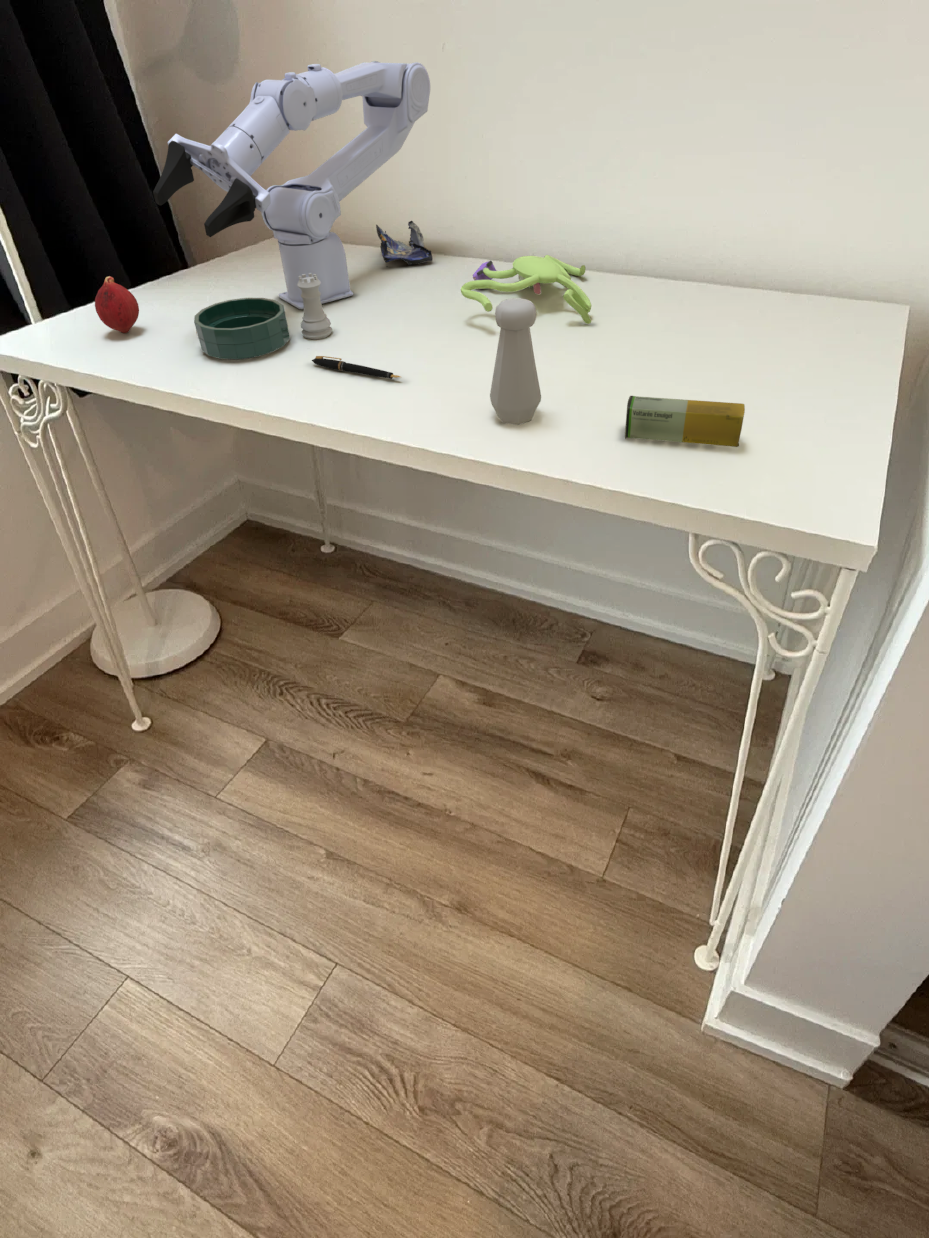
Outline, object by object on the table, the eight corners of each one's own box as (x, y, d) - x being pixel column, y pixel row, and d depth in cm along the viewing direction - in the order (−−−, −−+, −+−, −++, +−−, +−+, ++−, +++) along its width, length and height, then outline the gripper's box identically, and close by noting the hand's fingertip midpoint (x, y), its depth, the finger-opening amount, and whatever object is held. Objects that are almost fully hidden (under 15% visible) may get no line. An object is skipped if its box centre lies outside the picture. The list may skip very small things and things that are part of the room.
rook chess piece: (338, 329, 113) (329, 272, 108) (324, 341, 110) (314, 282, 105) (310, 327, 115) (300, 270, 109) (296, 338, 112) (285, 280, 106)
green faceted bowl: (268, 322, 117) (261, 291, 114) (305, 346, 109) (299, 313, 106) (190, 344, 112) (181, 312, 109) (223, 370, 104) (214, 337, 101)
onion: (132, 341, 114) (114, 284, 108) (97, 340, 115) (77, 283, 109) (152, 326, 118) (135, 271, 113) (118, 325, 119) (99, 270, 114)
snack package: (446, 249, 141) (385, 245, 144) (443, 212, 136) (380, 209, 139) (427, 282, 134) (363, 278, 136) (423, 245, 129) (357, 241, 131)
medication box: (623, 440, 85) (625, 407, 82) (626, 426, 87) (628, 394, 84) (738, 448, 82) (745, 415, 79) (740, 434, 84) (746, 401, 81)
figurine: (459, 335, 110) (457, 294, 106) (472, 273, 130) (470, 237, 126) (592, 333, 108) (594, 292, 104) (584, 271, 128) (586, 234, 124)
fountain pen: (405, 380, 99) (404, 369, 98) (401, 384, 98) (399, 373, 97) (314, 363, 105) (312, 352, 104) (309, 366, 104) (307, 355, 103)
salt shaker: (488, 407, 92) (485, 294, 84) (536, 403, 93) (538, 290, 84) (493, 430, 88) (491, 313, 80) (544, 426, 88) (547, 309, 80)
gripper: (192, 92, 101) (126, 159, 97) (288, 153, 101) (226, 223, 97) (200, 137, 108) (139, 202, 104) (290, 194, 108) (232, 261, 104)
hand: (181, 215), depth 101 cm, fingers open, 7 cm apart
